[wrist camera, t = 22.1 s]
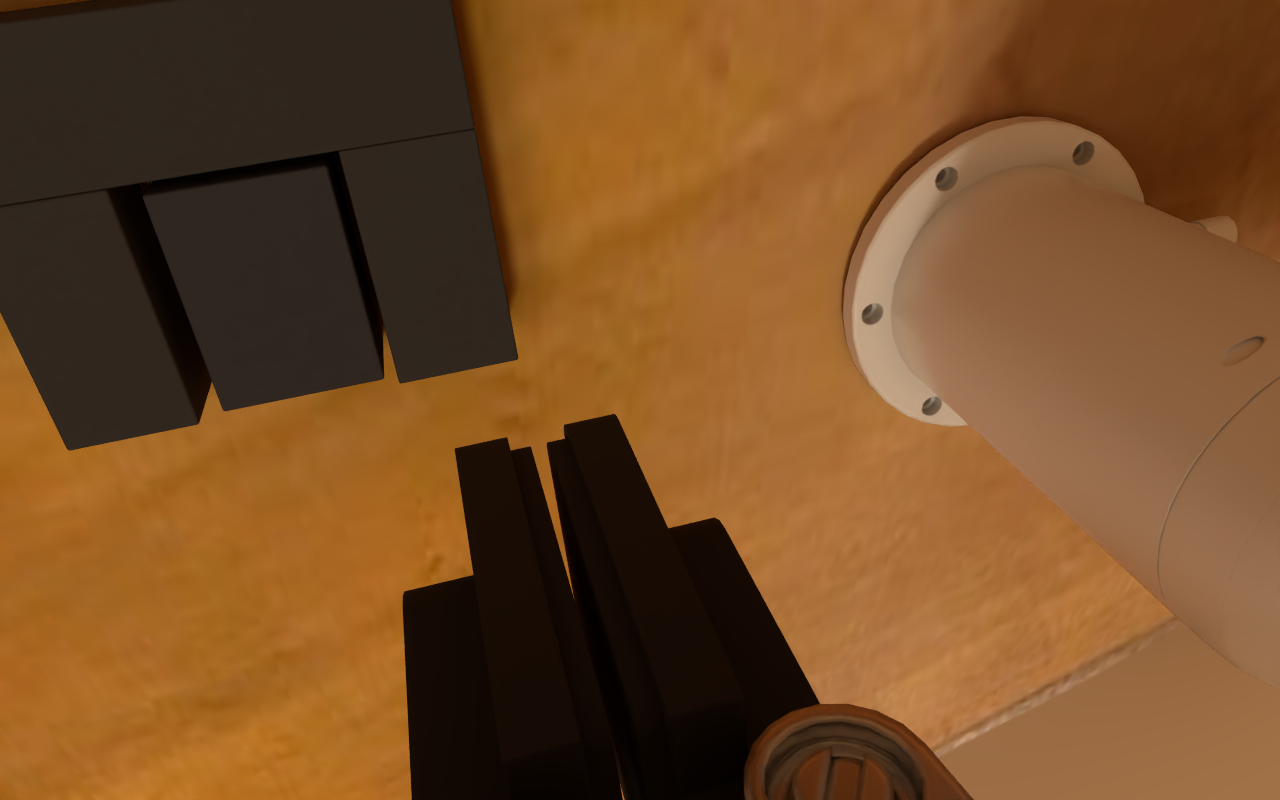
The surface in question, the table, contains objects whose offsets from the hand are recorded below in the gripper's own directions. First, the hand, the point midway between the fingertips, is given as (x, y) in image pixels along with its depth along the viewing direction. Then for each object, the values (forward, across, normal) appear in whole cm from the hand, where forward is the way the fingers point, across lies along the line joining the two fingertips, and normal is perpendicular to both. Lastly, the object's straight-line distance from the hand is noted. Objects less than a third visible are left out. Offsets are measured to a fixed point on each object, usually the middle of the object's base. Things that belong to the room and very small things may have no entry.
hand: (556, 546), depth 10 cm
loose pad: (+23, +6, +4) cm, 24 cm away
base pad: (+23, +6, +2) cm, 24 cm away
